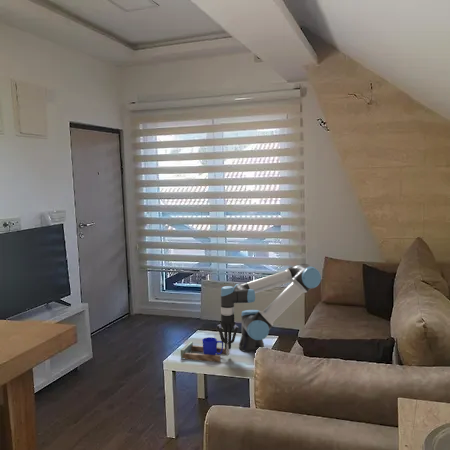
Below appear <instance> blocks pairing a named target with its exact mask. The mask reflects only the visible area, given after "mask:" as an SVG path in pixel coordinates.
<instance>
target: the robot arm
mask: <svg viewBox="0 0 450 450" xmlns="http://www.w3.org/2000/svg"><path fill="white" fill-rule="evenodd" d="M321 281H322V275H321V273H320V270H318V269H317V268H316V267H315V266H311V265H310V264H308V263H300V264H297V265H293V266H289V267H287V268H286V269H285V270H282V271H279V272H277V273H274V274H271V275H267V276H264V277H262V278H261V277H260V278H258V279H254V280H251V281H249V282H245V283H236V284H235V285H234V286H231V285H226V286H222V287H221V289H220V314H221V315H220V324H217V326H216V329H217V330H218V334H219V337H220V339H221V340H220V341H222V342H223V344H224V348H225V349H227V353H226V356H229V355H230V350H231V348H232V344H233V343H234V342H235V340H236V335H237V331H238V330H239V328H240V326H239V325H237V324H236V322H235V304H246V303H248V304H250V303H254V302H255V301H256V294H257V293H260V292H263V291H267V290H270V289H273V288H276V287H281V286H283V285H286V284H288V285H287V287H285V289H284V290H283V291H281V293H279V294H278V296H276V298H274V299H273V301H271V302H270V304H268V306H266V307H265V308H264V309H263V310H259V309H246V310H242V311H241V315H240V316H241V335H240V336H241V337H240V341H239V344H238V349H239V350H240V351H243V352H246V353H247V352H248V353H256V350H257V349H258V348H259V347H264V348H265V343H264V339H266V338H267V337H268V336H269V333H270V330H271V329H272V328H273V326H274V322H275V321H276V320H277V319H278V318H279V317H280V316H281V315H282V314H283V313H284V312H285V311H286V310H287V309H288V308H289V307H290V306H291V305H292V304H293V303H294V302H295V301H296V300H297V299H298V298H299V297H300V296H301V295H302V294H304V293H308V292H309V291H310V290H311V289H315V288H317V287H318V286H319V285H320V284H321ZM233 330H234V331H233ZM232 331H233V333H232Z"/></svg>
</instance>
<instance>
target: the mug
mask: <svg viewBox="0 0 450 450" xmlns="http://www.w3.org/2000/svg"><path fill="white" fill-rule="evenodd" d="M219 343H220V344H221V347H222V349H221V352H220V353H217V347H218V346H217V345H218V344H219ZM202 346H203V351H204V352H203V354H208V355H221V353H222V350H223V348H224V342H222V341H221V340H217V338H215V337H211V336H210V337H204V338H202Z"/></svg>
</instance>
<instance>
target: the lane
mask: <svg viewBox="0 0 450 450" xmlns="http://www.w3.org/2000/svg"><path fill="white" fill-rule="evenodd" d="M221 349H222V346H217V353H220V352H221ZM196 352H198V353H196ZM221 354H222V355H227V349H225V347H223V350H222V353H221ZM221 354H216V355H208V354H204V351H203V345H194V342H193V341H188V343H186V344H185V345H184V346H183V347H182V348H181V349H180V359H181V358H185V359H184V360H191V359H192V360H193V361H195V360H196V361H201V362H202V361H203V362H205V361H206V362H215V363H220V362H221Z"/></svg>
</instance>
